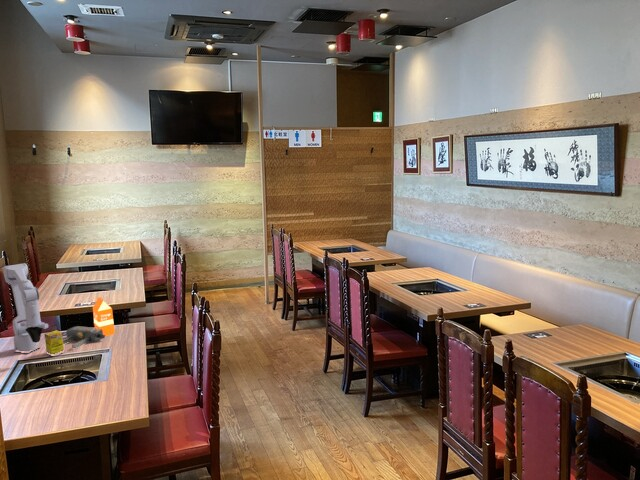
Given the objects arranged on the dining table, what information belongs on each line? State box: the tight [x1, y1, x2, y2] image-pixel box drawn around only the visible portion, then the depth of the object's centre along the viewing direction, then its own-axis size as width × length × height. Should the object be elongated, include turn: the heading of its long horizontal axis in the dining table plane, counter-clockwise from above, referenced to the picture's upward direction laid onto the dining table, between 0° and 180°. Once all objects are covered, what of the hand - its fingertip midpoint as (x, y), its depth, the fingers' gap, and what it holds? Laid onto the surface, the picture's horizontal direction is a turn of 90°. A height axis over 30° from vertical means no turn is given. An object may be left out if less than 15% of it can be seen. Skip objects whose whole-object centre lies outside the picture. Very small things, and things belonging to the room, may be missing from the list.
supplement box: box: [44, 329, 65, 354], centre depth 244 cm, size 6×6×11 cm
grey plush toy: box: [63, 325, 106, 349], centre depth 258 cm, size 21×17×6 cm
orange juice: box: [92, 296, 115, 337], centre depth 269 cm, size 8×9×20 cm
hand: (36, 341), depth 234 cm, fingers closed
